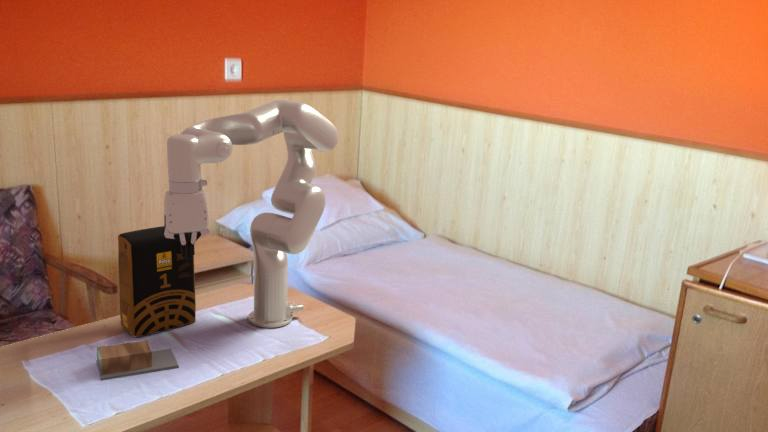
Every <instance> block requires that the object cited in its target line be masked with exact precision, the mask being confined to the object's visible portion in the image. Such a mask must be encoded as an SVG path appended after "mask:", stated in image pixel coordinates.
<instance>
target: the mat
mask: <svg viewBox="0 0 768 432" xmlns="http://www.w3.org/2000/svg"><path fill="white" fill-rule="evenodd" d="M151 351H152V367H147V368H140V369H134V370H128V371H121V372H115V373H108V374H102V375H100V372H99V371H98V373H99V377H100V381H105V380H112V379H118V378H122V377H130V376H135V375H142V374H148V373H154V372H155V373H156V372H159V371H166V370H173V369H177V368H179V365H180V364H179V363H178V361H177V359H176V356H175V354H174V352H173V349H172V348H171V347H170V348H165V349H159V350H151ZM96 363H97V362H96ZM97 369H98V370H99V367H98V363H97Z"/></svg>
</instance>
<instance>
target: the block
mask: <svg viewBox="0 0 768 432" xmlns="http://www.w3.org/2000/svg"><path fill="white" fill-rule="evenodd" d="M95 348H96V363H98V365H97V368H98V367H99V369H98V373H99V372H100V373H99V376H100V375H102V374H108V373H115V372H121V371H128V370H134V369H140V368H147V367H152V351H153V350H152V349H151V346H150V344H149V340H148V339H146V340H145V339H143V340H138V341H132V342H131V341H130V342H123V343H117V344H116V343H115V344H109V345H103V346H101V345H100V346H96V347H95Z"/></svg>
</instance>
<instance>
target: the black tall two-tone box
mask: <svg viewBox="0 0 768 432" xmlns="http://www.w3.org/2000/svg"><path fill="white" fill-rule="evenodd" d="M164 233H165V227H164V225H162V226H155V227H149V228H143V229H136V230H131V231H126V232H123V233H120V234H118V236H117V242H118V249H117V250H118V251H117V252H118V255H117V256H118V260H117V263H118V283H119V284H118V285H119V287H118V288H119V315H120V317H119V318H120V325H121V326H122V328H123V329H124V330H125V331H126V332H128V334H130V335H131V336H133V337H134V338H139V337H144V336H149V335H152V334H153V335H154V334H157V333H161V332H165V331H169V330H173V329H177V328H180V327H184V326H188V325H191V324H194V323H196V318H197V315H196V313H197V312H196V311H197V309H196V305H197V304H196V280H195V279H196V278H195V255H192V257H193V259H192V260H190V259H189V260H185V258H184V256H182V255H181V243H179V242H178V241H177V240H176V239H171V238H166V237H165V236H164ZM184 235H185V240H186V242H187V241H188V239H189V233H184Z"/></svg>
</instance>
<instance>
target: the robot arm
mask: <svg viewBox="0 0 768 432" xmlns="http://www.w3.org/2000/svg"><path fill="white" fill-rule="evenodd" d="M281 133H283V138H284V142H285V144H286V149H287V161H286V164H285V166H284V169H283V170H282V172H281V175H280V177H279V179H278V181H277V183H276V185H275V187H274V189H273V191H272V193H271V198H270V201H271V205H272V207H273V208H274V209H275V210H277V211H279V212H281V213H284V214H289V215H292V217H289V216H285V215H282V214H278V213H274V212H262V213H259V214H257V215H256V216H255V217H253V219H252V221H251V223H250V229H249V232H250V233H249V234H250V235H249V236H250V240H251V243H252V244H251V245H252V250H253V310H252V311H251V312H249V314H248V316H247V318H248V322H249V323H250V324H251V325H253V326H255V327H259V328H265V329H266V328H267V329H268V328H269V329H273V328H280V327H284V326H286V325H288V324H290V323H291V322H292V320H293V314H294V312H295V313H296V312H303V311H304V305H303V304H301V303H300V304H297V302H291V303H289V302H288V285H289V284H288V277H289V271H288V270H289V259H288V255H287V254H290V255H299V254H300V253H303V251H305V250H306V248H307V247H308V245H309V243H310V242H311V238H312V237H313V235H314V233H315V231H316V228H317V227H318V224H319V222H320V220H321V218H322V215H323V213H324V211H325V206H326V195H325V193H324V191H323V189H321V188H320V187H319V186H317V185H315V184H312V180H313V178H314V176H315V173H316V167H317V166H316V159H315V157H314V154H313V152H314V151H315V152H319V153H328V152H331V151H333V150H334V148H335V147H337V144H338V141H339V133H338V129H337V127H336V126H335V124H334V123H333V122H331V121H330V120H329V119H328V118H327V117H326V116H324V115H323V114H321V112H319V111H318V110H316V109H315V108H313V107H312V106H310V105H308V104H307V103H304V102H300V101H293V100H285V99H277V100H273V101H270V102H268V103H265V104H262V105H260V106H258V107H255V108H253V109H251V110H248V111H245V112H242V113H235V114H231V115H230V114H229V115H225V116H219V117H214V118H210V119H205V120H203V121H200V122H198V123H195V124H191V125H189V126H188V127H186V128H185V129H184V130H183V131H181V133H180V134H173V135H170V136H169V137H168V138H167V140H166V155H167V174H168V175H167V176H168V177H167V178H168V190H166V191H165V194H164V199H163V201H164V202H163V226H164V227H165V233H164V236H165V237H166V238H171V239H176V240H177V241H178V242H179V243H181V255H182V256H184V258H185V260H189V259H190V260H192V259H193V257H192V255H194V256H195V255H196V253H195V244H196V242H197V241H198V240H199V238H201V237H203V236H206V235H207V234H209V233H210V229H209V228H210V227H209V222H210V221H209V212H208V203H207V198H206V194H205V190H204V189H203V187H206V186H208V181H207V179H206V180H205V179H202V173H201V171H202V169H201V165H203V164H220V163H223V162H225V161H226V160H227V159H229V157H230V156H231V155H232V153H233V146H234V145H235V146H246V145H247V146H248V145H255V144H258V143H260V142H263V141H265V140H267V139H269V138H272V137H274V136H277V135H279V134H281ZM184 233H189V239H188V241H187V242H186V240H185V235H184Z"/></svg>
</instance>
